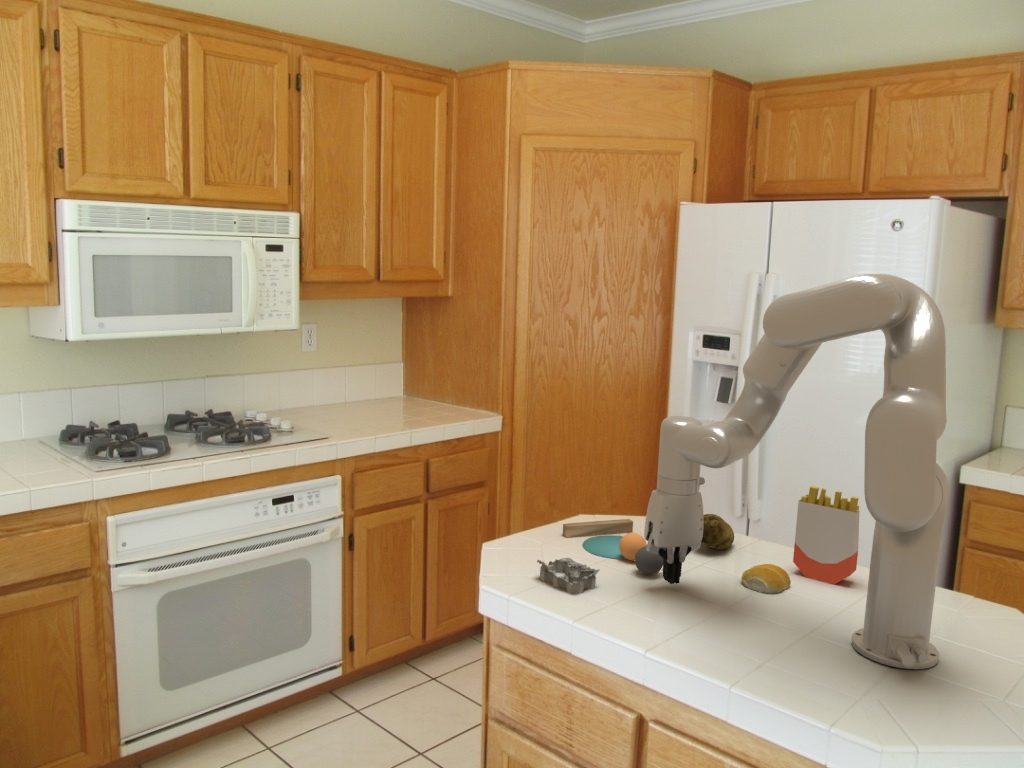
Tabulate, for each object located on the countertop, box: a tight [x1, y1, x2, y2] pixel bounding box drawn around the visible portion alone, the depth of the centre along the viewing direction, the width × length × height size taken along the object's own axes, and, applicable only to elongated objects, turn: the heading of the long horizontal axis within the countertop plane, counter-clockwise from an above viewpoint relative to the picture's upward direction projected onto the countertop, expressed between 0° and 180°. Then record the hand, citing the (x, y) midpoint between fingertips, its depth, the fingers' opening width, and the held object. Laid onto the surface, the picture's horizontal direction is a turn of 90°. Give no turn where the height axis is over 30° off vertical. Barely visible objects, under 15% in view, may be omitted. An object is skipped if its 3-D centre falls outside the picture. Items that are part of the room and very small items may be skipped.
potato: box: [700, 513, 735, 550], centre depth 178 cm, size 8×13×8 cm, turn 130°
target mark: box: [582, 534, 627, 560], centre depth 177 cm, size 14×14×1 cm
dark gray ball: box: [634, 546, 663, 576], centre depth 162 cm, size 6×6×6 cm
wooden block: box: [562, 518, 634, 539], centre depth 185 cm, size 2×16×2 cm, turn 109°
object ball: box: [619, 532, 647, 561], centre depth 170 cm, size 6×6×6 cm
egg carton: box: [536, 557, 601, 595], centre depth 157 cm, size 11×8×4 cm
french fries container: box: [792, 485, 860, 585], centre depth 163 cm, size 5×11×18 cm, turn 53°
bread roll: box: [740, 563, 792, 594], centre depth 159 cm, size 8×9×4 cm
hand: (671, 581), depth 155 cm, fingers closed
